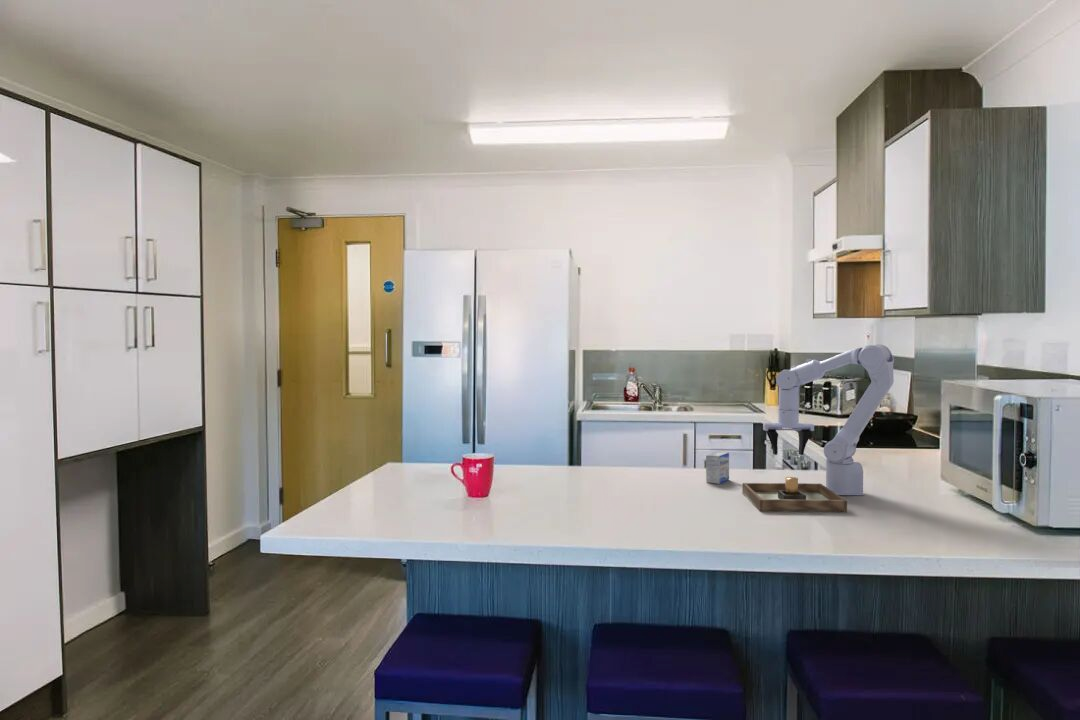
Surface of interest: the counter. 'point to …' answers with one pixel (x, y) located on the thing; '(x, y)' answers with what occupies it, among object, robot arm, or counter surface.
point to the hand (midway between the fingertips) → (788, 454)
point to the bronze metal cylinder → (791, 486)
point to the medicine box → (717, 467)
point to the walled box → (793, 498)
